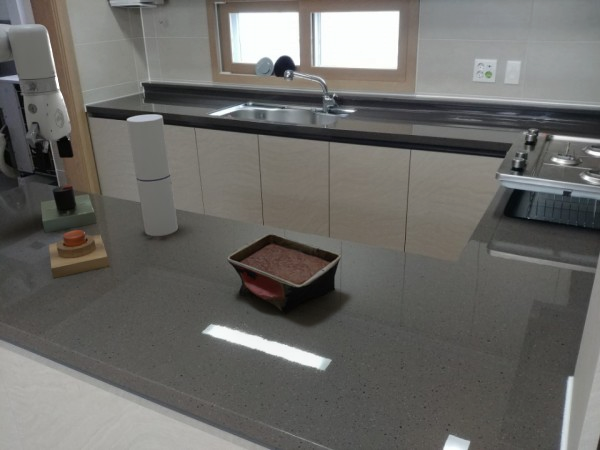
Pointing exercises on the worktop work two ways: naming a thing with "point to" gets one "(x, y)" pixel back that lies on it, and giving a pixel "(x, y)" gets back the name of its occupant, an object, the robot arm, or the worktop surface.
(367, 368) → the worktop surface
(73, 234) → the button
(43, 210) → the panel
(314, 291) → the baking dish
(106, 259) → the button block
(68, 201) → the knob
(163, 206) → the cylindrical container
